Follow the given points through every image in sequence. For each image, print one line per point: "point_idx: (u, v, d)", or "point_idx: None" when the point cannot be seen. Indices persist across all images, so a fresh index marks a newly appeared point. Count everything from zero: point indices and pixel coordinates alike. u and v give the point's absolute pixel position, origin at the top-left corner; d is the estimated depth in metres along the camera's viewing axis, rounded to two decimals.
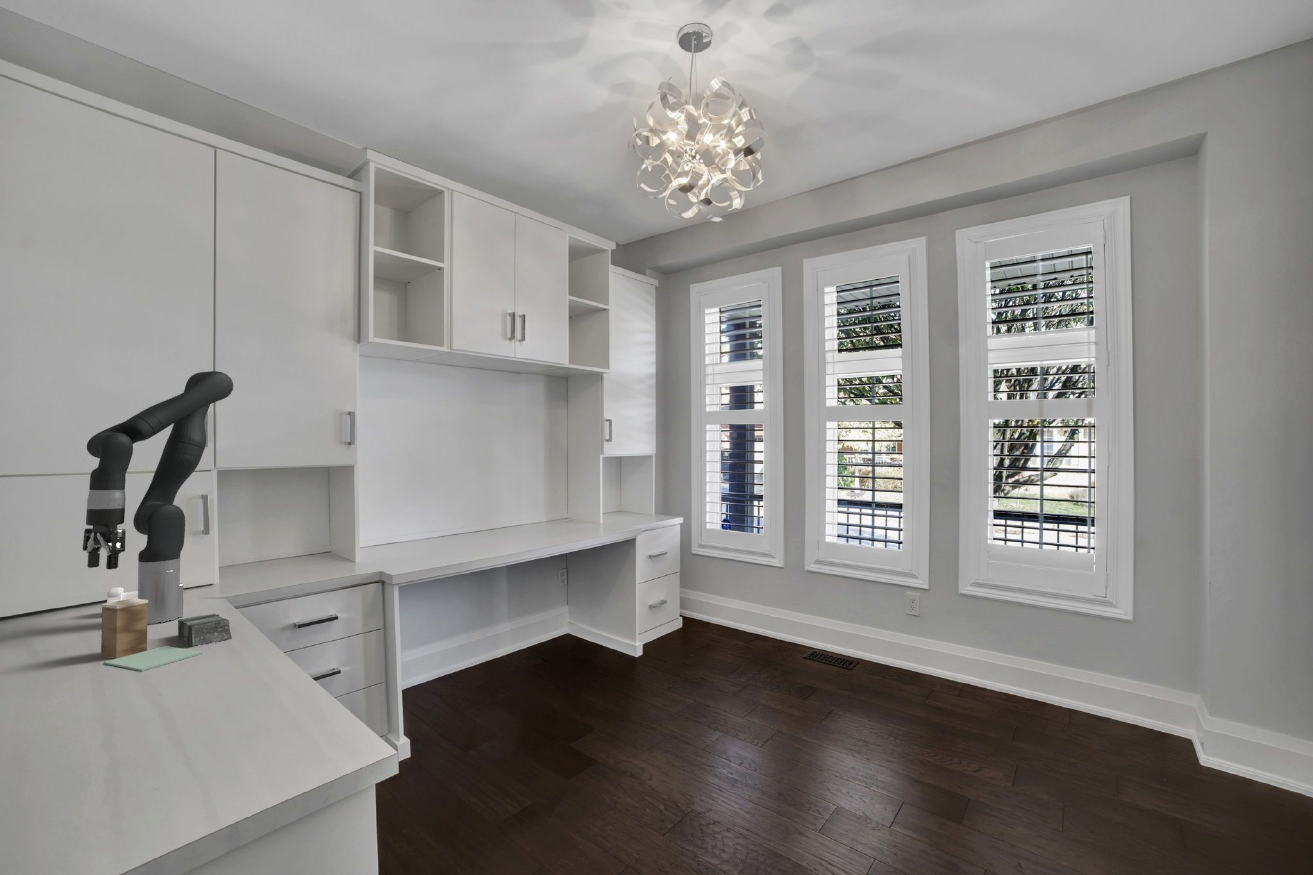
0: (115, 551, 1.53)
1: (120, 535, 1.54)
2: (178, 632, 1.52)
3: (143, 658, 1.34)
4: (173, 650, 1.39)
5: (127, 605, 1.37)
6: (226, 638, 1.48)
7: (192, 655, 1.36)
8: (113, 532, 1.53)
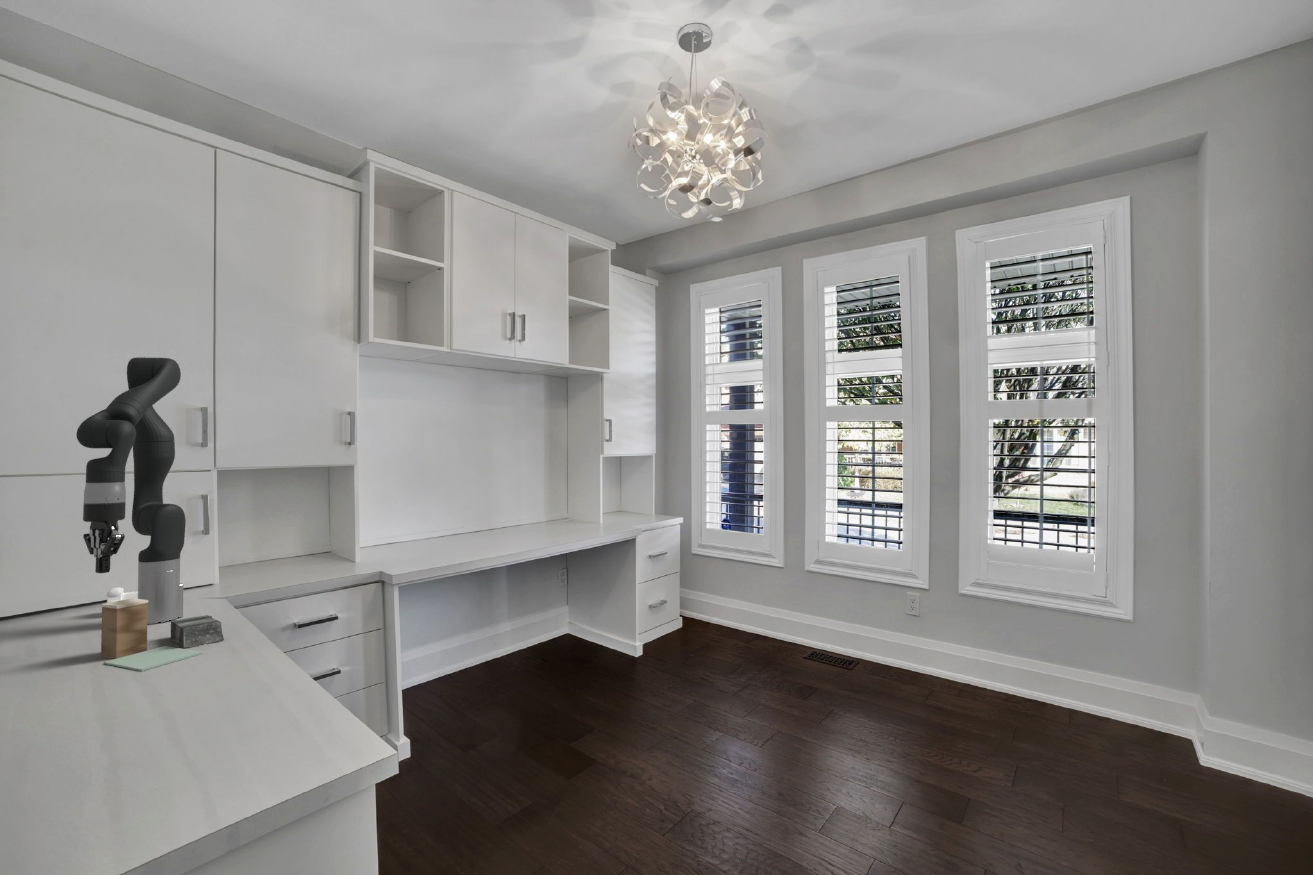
0: (106, 553, 1.41)
1: (117, 541, 1.41)
2: (171, 634, 1.50)
3: (143, 658, 1.34)
4: (173, 650, 1.39)
5: (127, 605, 1.37)
6: (218, 640, 1.47)
7: (192, 655, 1.36)
8: (111, 538, 1.40)
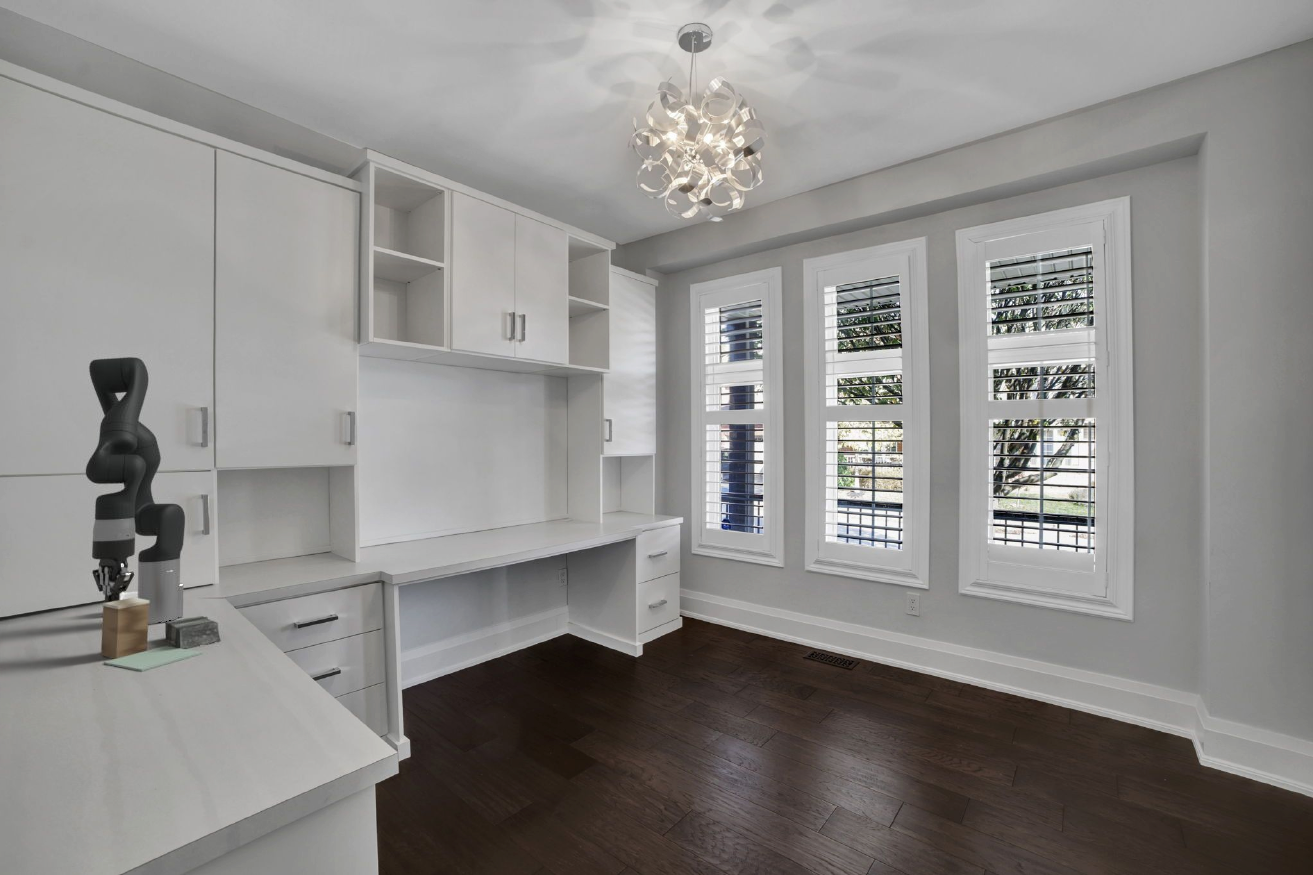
0: (115, 591, 1.39)
1: (126, 579, 1.39)
2: (165, 635, 1.49)
3: (143, 658, 1.34)
4: (173, 650, 1.39)
5: (128, 605, 1.37)
6: (215, 641, 1.46)
7: (192, 655, 1.36)
8: (120, 576, 1.37)
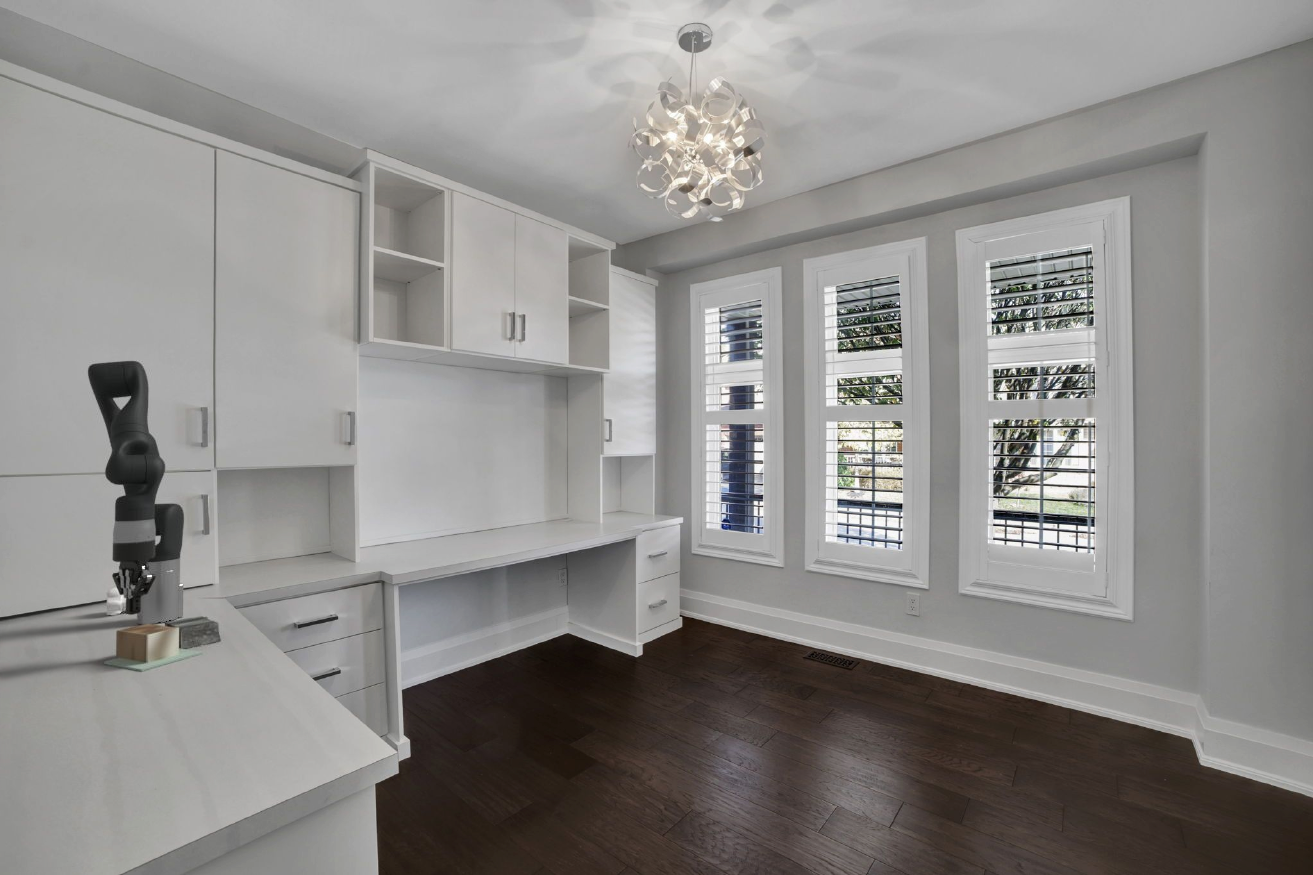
0: (137, 594, 1.36)
1: (148, 582, 1.36)
2: None
3: None
4: None
5: (157, 659, 1.32)
6: (215, 641, 1.46)
7: (192, 655, 1.36)
8: (142, 579, 1.35)
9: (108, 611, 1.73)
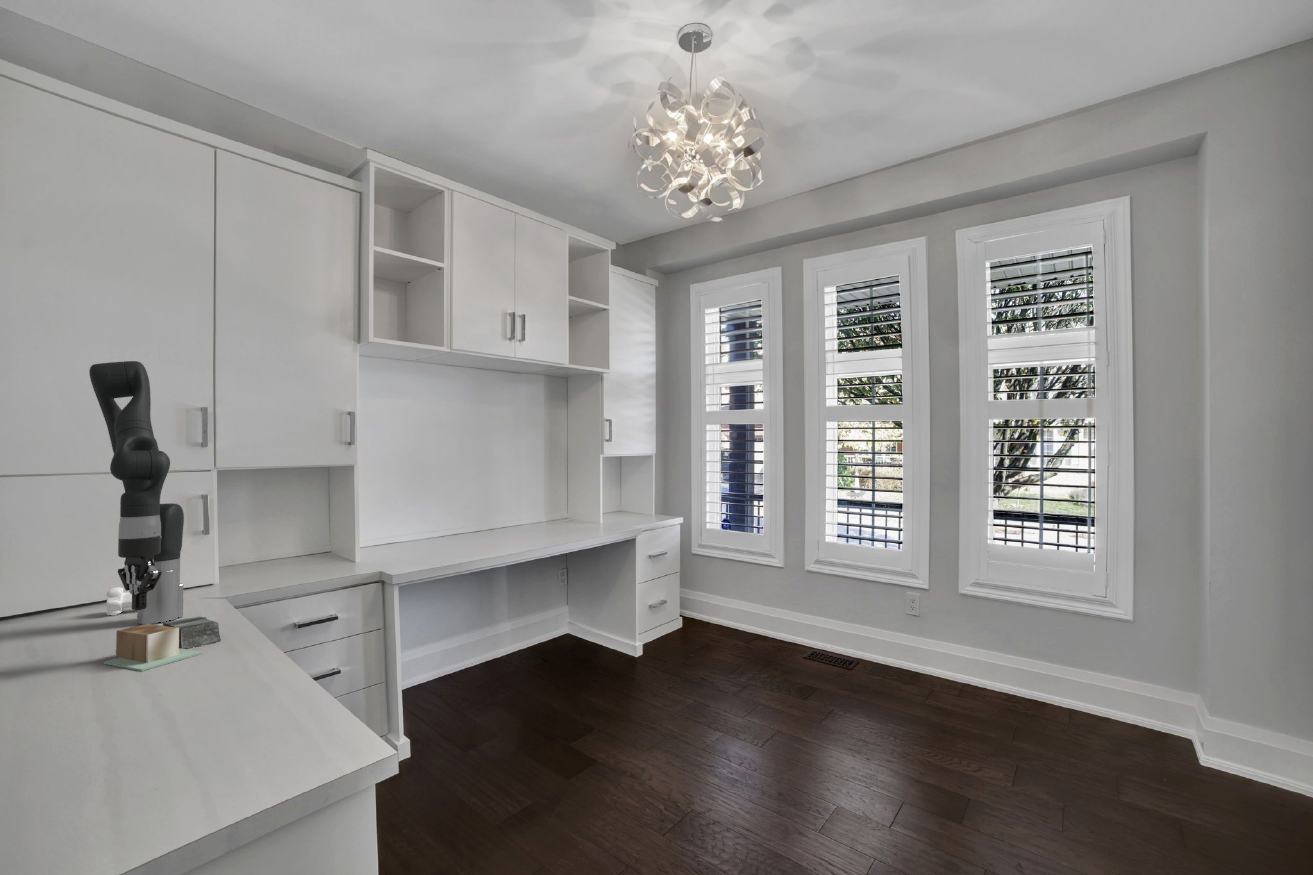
0: (143, 590, 1.36)
1: (154, 577, 1.36)
2: None
3: None
4: None
5: (157, 659, 1.32)
6: (215, 641, 1.46)
7: (192, 655, 1.36)
8: (148, 575, 1.35)
9: (108, 611, 1.73)
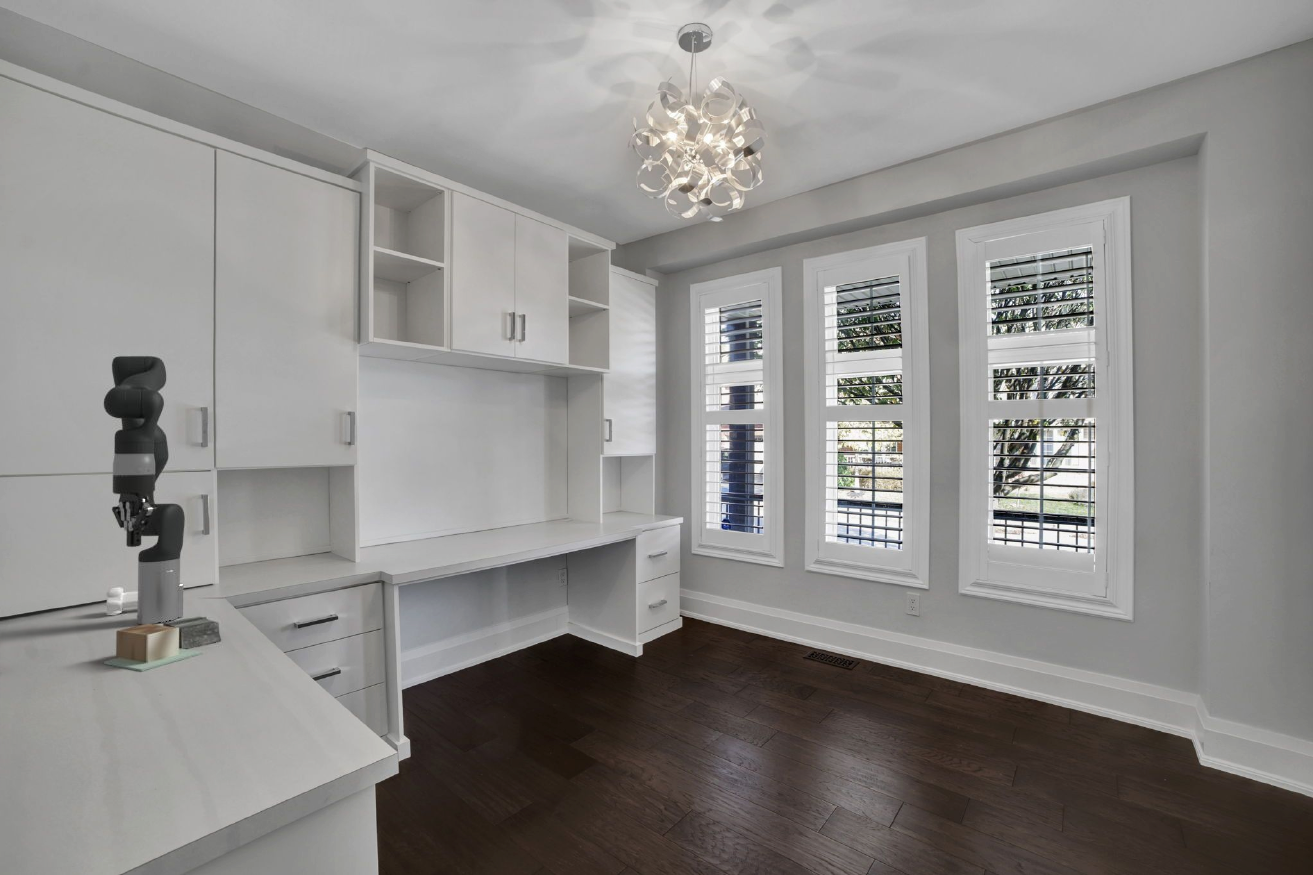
0: (138, 526, 1.37)
1: (149, 514, 1.37)
2: None
3: None
4: None
5: (157, 659, 1.32)
6: (215, 641, 1.46)
7: (192, 655, 1.36)
8: (143, 511, 1.36)
9: (108, 611, 1.73)
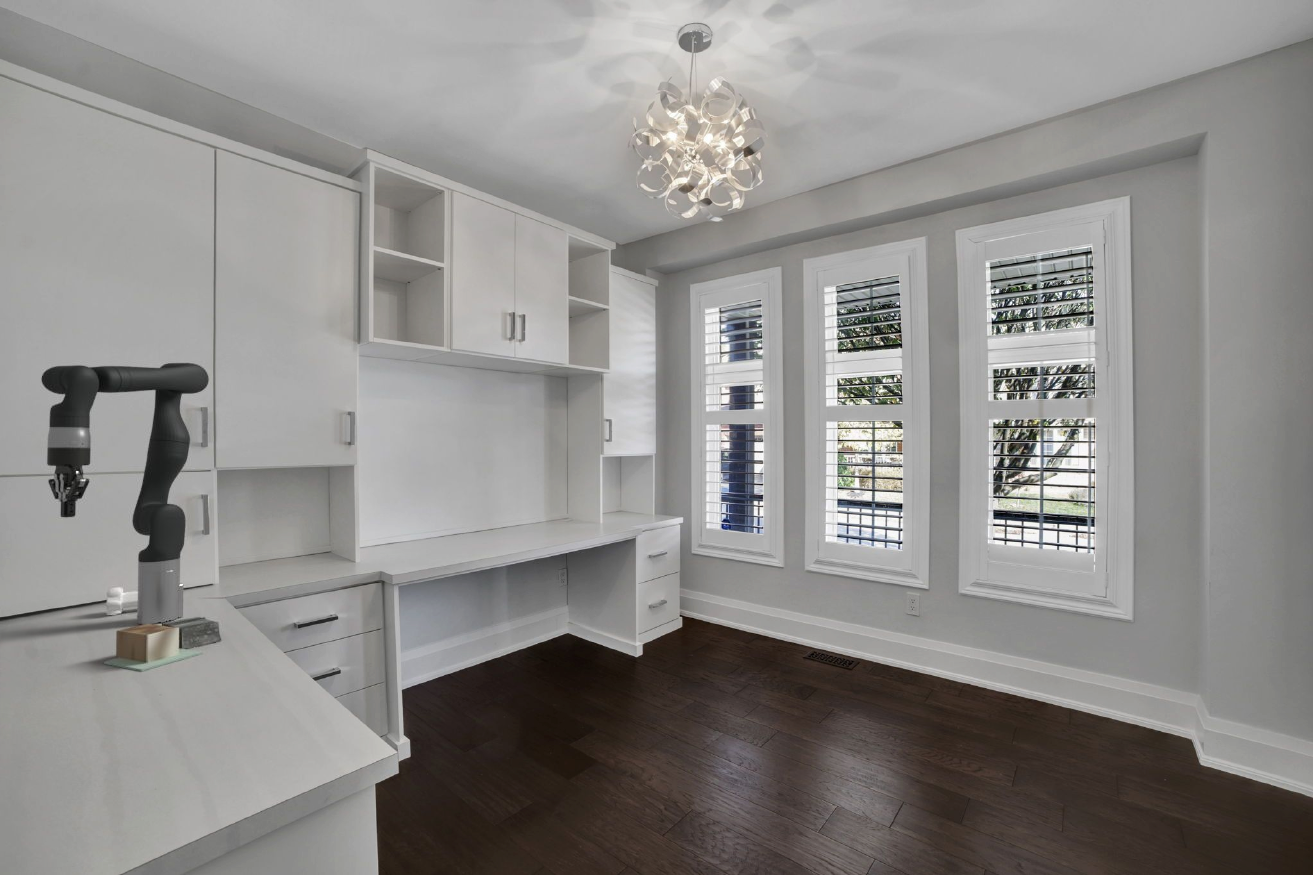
0: (71, 497, 1.42)
1: (81, 485, 1.42)
2: None
3: None
4: None
5: (157, 659, 1.32)
6: (216, 641, 1.46)
7: (192, 655, 1.36)
8: (75, 482, 1.41)
9: (108, 611, 1.73)
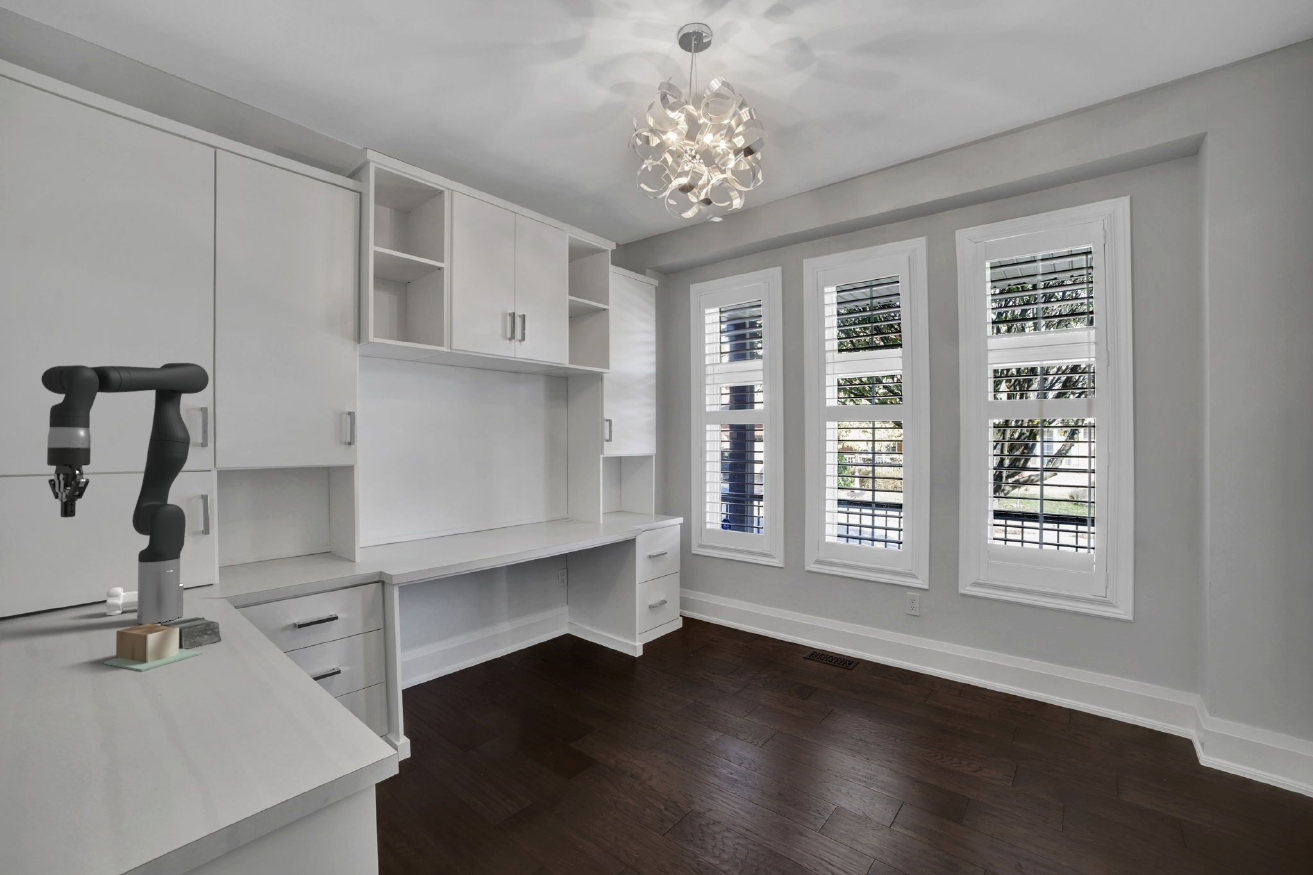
0: (71, 497, 1.42)
1: (81, 485, 1.42)
2: None
3: None
4: None
5: (157, 659, 1.32)
6: (216, 641, 1.46)
7: (192, 655, 1.36)
8: (75, 482, 1.41)
9: (108, 611, 1.73)
